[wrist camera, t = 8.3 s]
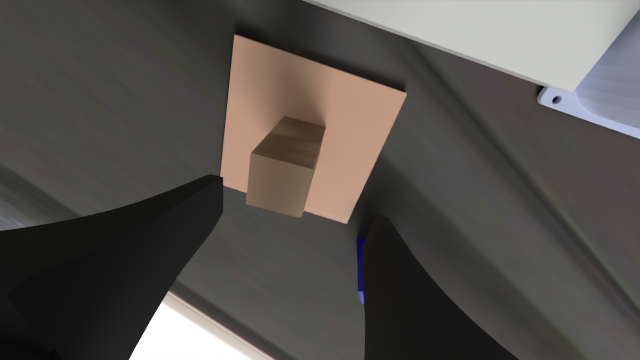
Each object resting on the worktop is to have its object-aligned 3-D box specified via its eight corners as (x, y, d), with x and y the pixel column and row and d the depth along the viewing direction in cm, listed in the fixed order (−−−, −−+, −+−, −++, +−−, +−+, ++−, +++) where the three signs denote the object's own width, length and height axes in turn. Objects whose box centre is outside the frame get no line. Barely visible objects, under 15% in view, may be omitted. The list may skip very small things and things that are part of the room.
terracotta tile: (405, 92, 17) (407, 93, 16) (346, 219, 23) (346, 223, 22) (238, 34, 16) (234, 34, 16) (222, 180, 22) (219, 184, 22)
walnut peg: (326, 126, 18) (313, 169, 12) (316, 164, 20) (301, 218, 14) (284, 115, 18) (250, 153, 12) (278, 154, 20) (246, 203, 14)
